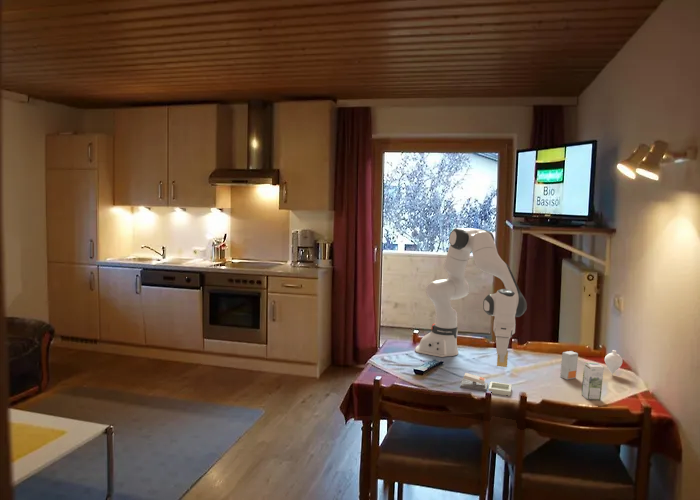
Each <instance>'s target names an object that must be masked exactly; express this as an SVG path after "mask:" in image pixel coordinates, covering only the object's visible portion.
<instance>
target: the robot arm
mask: <svg viewBox="0 0 700 500" xmlns="http://www.w3.org/2000/svg"><path fill="white" fill-rule="evenodd" d="M448 240H449V241H448V242H449V247H448V250H447V252H446V255H445V256H446V257H445V259H444V264H443V269H444V270H445V272H446V273H447V278H444V279H436V280H433V281H430V282H429V283H428V284H427V285H426V288H425V293H426V296H427V298H428V299H429V300H430V301H431V302H432V304H433V306H434V310H435V311H434V312H435V322H434V323H433V324H432V325H431V328H430V329H431V331H430V332H429V333H427V334H425V335H424V336H422V338H421V339H420V341H419V344H418V345H416V347H415V349H414V351H415V353H418V354H423V355H429V356H434V357H438V358H439V357H440V358H446V357H452V356H453V357H454V356H457V355H459V350H458V344H457V343H458V342H457V338H458V312H457V310H456V309H455V308H453V307H452V301H453V300H460V299H463V298H465V297H467V296H468V295H469V293H470V285H469V282H468V280H467V279H466V270H467V266H468V262H469V259H470V256H471V252H472V258H473V261H474V264H475V266H476V268H477V269H478V270H479V271H481V272H483V273H485V274H488V275H492V276H494V277H496V278H498V279H500V280H501V282H502V283H503V285H504V288H501V289H498V290H497V291H496V292H495V293H491V294H488V295H486V296H485V298H484V299H483V303H482V304H483V305H482V307H483V311H484V313H486V314H487V316H492V317H494V319H493V333H494V336H495V341H496V342H495V343H496V344H495V345H496V354H497V356H498V355H500V362H504V357H505V355H506V353H507V351H508V348H509V343H510V339H511V338H512V337H513V335H514V334H515V333H516V318H520V317H522V316H523V315H524V314H525V312H526V311H527V308H528V307H527V306H528V303H527V300H526V299H525V296H524V295H523V293H522V292H521V290H520V288H519V285H518V283H517V281H516V279H515V277H514V276H515V275H514V274H513V272H512V270H511V268H510V266H509V265H508V263H506V262H505V261H504V260H503V259H502V258H501V256H500V255H499V253H498V249H497V245H496V243H495V236H494V234H493V232H491V231H489V230H486V229H485V230H483V229H479V228H467V227H466V228H464V227H463V228H462V227H456V228H454V229H452V230H451V232H450V234H449V238H448Z"/></svg>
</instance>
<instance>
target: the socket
mask: <svg viewBox="0 0 700 500" xmlns="http://www.w3.org/2000/svg"><path fill="white" fill-rule="evenodd" d="M512 386H513V385H512V383H511V384H510V383H503V382H498V381H497V382H496V381H490V382H489V384H488V388H487V390H488V391H492V393H491V394H494V395H502V396H506V395H508V396H507V397H511V395H512V389H513V387H512Z"/></svg>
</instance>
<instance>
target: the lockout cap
mask: <svg viewBox="0 0 700 500" xmlns="http://www.w3.org/2000/svg"><path fill="white" fill-rule="evenodd" d="M496 356H497V359H496V361H497V362H496V367H502V368H507V367H508V359H509V358H508V357H509V351H508V350H507V353H506V355H505V357H504V362H500V355H498V354H497V355H496Z"/></svg>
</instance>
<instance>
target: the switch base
mask: <svg viewBox="0 0 700 500" xmlns="http://www.w3.org/2000/svg"><path fill="white" fill-rule="evenodd" d="M459 386H460V387H459V388H463V389H469V390H475V391H483V392H487V390H488V388H489V383H488V382H485V383H484V384H480V383H477V382H473V381H470V380H467V379H462V381H461V382H460V385H459Z"/></svg>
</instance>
